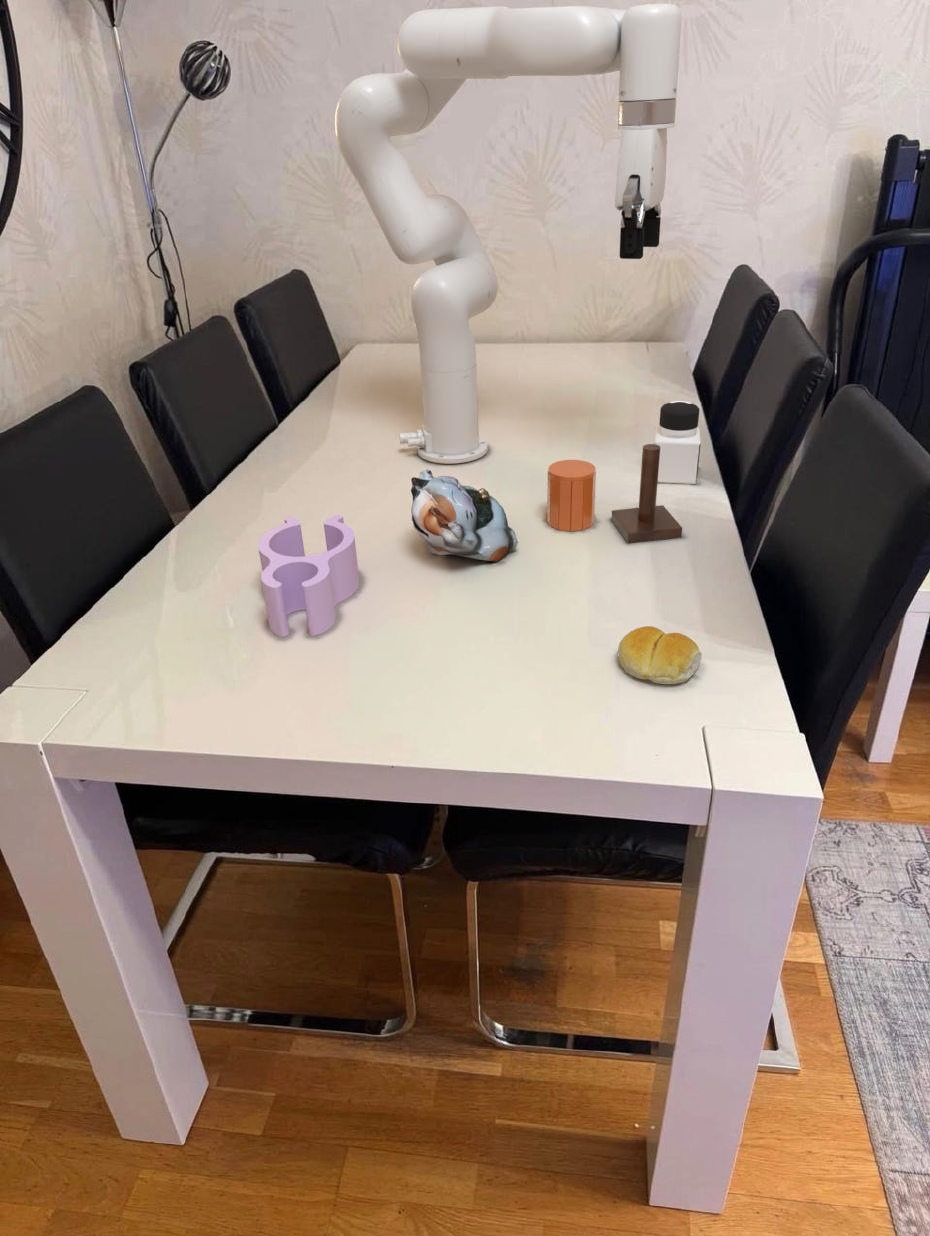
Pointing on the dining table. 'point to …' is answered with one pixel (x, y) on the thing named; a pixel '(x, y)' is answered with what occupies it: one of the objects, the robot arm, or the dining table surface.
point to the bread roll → (659, 655)
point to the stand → (647, 507)
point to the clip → (307, 574)
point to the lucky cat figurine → (460, 519)
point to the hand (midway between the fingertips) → (639, 252)
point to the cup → (571, 495)
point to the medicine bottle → (678, 442)
